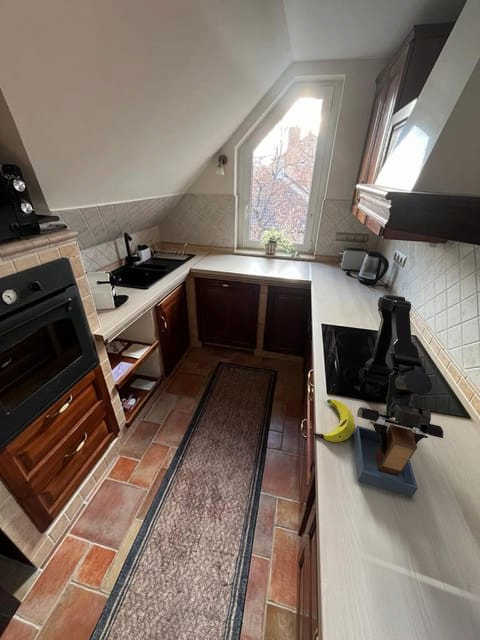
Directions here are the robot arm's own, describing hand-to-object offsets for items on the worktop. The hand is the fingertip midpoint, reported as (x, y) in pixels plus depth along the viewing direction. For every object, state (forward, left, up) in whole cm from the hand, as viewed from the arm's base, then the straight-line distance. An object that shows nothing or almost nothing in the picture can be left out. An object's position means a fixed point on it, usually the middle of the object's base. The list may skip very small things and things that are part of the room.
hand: (394, 456), depth 65 cm
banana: (-21, -2, -11) cm, 24 cm away
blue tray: (-4, +3, -11) cm, 12 cm away
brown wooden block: (-1, +1, -6) cm, 6 cm away
